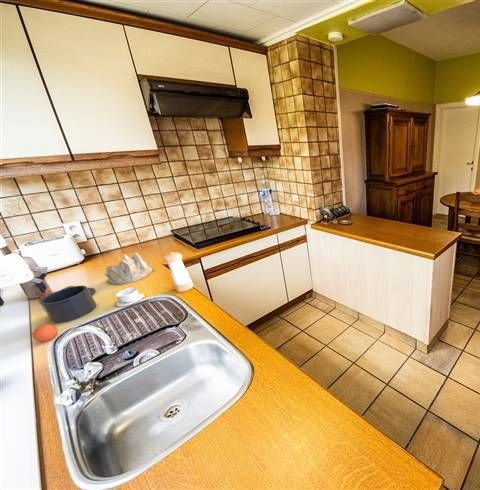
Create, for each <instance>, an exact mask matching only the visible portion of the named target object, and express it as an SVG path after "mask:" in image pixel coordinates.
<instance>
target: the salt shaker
mask: <svg viewBox="0 0 480 490" xmlns="http://www.w3.org/2000/svg"><path fill="white" fill-rule="evenodd" d="M163 261H164V262H165V263H167V266H168V268H169V271H170V275H171V279H172V281H173V287H174V289H175V291H176V293H177V292H178V293H182V292H183V293H184V292H187V291H189V290H191V289H192V288H193V287H194V282H193V279H192V278H191V277H190V275H189V272H188V270H187V269H186V267H185V265H184V262H183V255H182V253H181V252H177V251H175V252H173V251H171V252H169V253H168V254H166V255H165V256H164V258H163Z"/></svg>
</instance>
